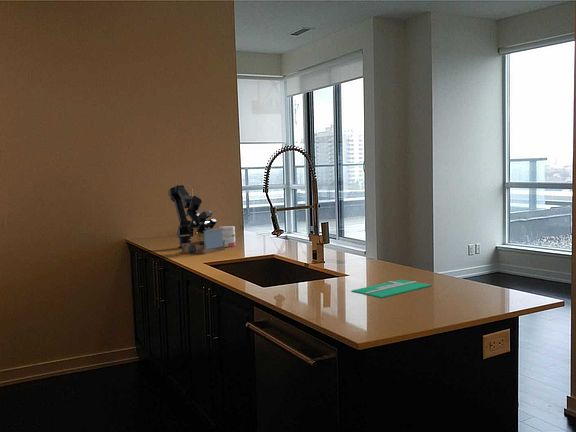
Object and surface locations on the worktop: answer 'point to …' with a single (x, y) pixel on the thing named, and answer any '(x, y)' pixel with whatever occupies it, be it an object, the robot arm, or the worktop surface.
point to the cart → (198, 248)
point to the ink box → (228, 236)
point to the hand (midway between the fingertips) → (210, 235)
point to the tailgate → (213, 238)
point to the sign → (391, 288)
